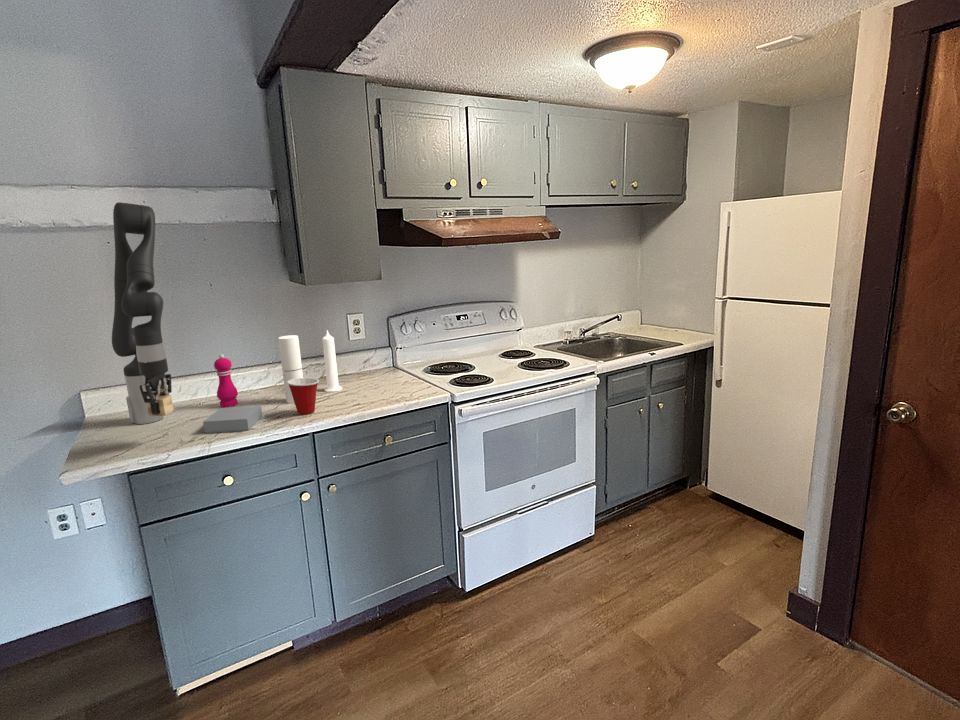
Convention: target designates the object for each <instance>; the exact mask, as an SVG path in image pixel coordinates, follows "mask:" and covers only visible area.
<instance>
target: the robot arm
mask: <svg viewBox="0 0 960 720" xmlns="http://www.w3.org/2000/svg"><path fill="white" fill-rule="evenodd" d="M112 210H113V212H112V213H113V214H112V219H113V223H112V224H113V234H114V235H113V237H114V252H115V253H114V275H113V276H114V277H113V278H114V279H113V280H114V283H113V285H114V286H113V287H114V311H113V312H114V313H113V321H112V330H111V346H112V349H113V351H114V352H115V354H116V355H117V356H118V357H122V358H125V357H129V356H130V357H131V356H134V358H133V359H132V360H131V362H129V363H127V365H125V366H124V367H123V375H124V379H125V384H126V390H127V396H126V397H125V400H126V404H127V406H126V407H127V411H128V414H129V420H130V424H136V425H145V424H151V423H155V422H158V421H160V420H162V419H164V418H165V416H149V415H148V409H147V403H150V406H151V412H152V414H153V415H155V414H160V408H159V402H158V396H162V395H170V394H171V393H172V390H173V389H172V374H170V373H167V372H169V365H168V360H167V359H168V358H167V354H166V349H165V346H164V341H163V336H162V326H161V324H162V315H163V310H164V299H163V297H162V295H161V294H159V293H158V292H156V291H150V290H152V289H153V288H154V287H155V283H156V281H155V271H154V254H155V252H154V251H155V242H156V215H155V212H154V209H153V208H152V207H151V206H149V205H143V204H136V203H135V204H134V203H128V202H116V203H115V204H114V207H113V209H112ZM127 234H133V235H141V236H143V237H142V240H141V242H140V244H139V245H138V246H137V247H136V248H135V249H134V250H133V249H132V248H131V246H130V244H129V242H128V240H127ZM138 317H151V319H150V320H149V321H147V322H145V323H141V324H137V325H135V326H134V327H132V326H133V321H134V318H138ZM166 373H167V374H166ZM154 396H155V399H154Z"/></svg>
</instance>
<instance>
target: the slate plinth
mask: <svg viewBox="0 0 960 720" xmlns="http://www.w3.org/2000/svg"><path fill="white" fill-rule="evenodd" d="M262 418H263V411H262V405H253V406H252V405H251V406H236V407H235V406H232V407H220V408H219V409H218V410H216V411H215V412H213V413H212V414H210V416H208V417H207V418H206V419H204V420H202V421H203V422H202V423H203V429H204V433H205V434H213V433H215V434H216V433H229V432H230V433H231V432H232V433H233V432H247V431H250V430H251V429H252V428H253V427H254V426H255V425H256V424H257V423H258V422H259V421H260V420H261V419H262Z"/></svg>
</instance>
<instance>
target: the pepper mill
mask: <svg viewBox="0 0 960 720" xmlns="http://www.w3.org/2000/svg"><path fill="white" fill-rule="evenodd" d="M218 357H219V358H217V359H216V360H215V361H214V362H213V363H214V364H213V367H214V369H215V370H216V375H217V377H218V381H219V382H218V386H217V387H218V388H217V391H216V397H217V398H218V400H220V401H219V407H220V408H233V407H235V406H237V405H238V404H239V402H238V399H237V397H238V394H239V393H238V389H237V387H236V386H235V384H234V383H233V381H232V370H231V368H232V366H233V363H232V361H231V360H230V359H229V358H227V357H225V355H224V354H223V353H221V354H219V355H218Z"/></svg>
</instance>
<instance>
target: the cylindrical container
mask: <svg viewBox="0 0 960 720" xmlns="http://www.w3.org/2000/svg"><path fill="white" fill-rule="evenodd" d="M277 338H278V339H277V340H278V347H279V354H280V355H279V356H280V362H281V370H282V377H283V385H284V392H285V401H286V403H288V404H295V403H294V400H293V396H292V393H291V390H290V387H289V384H288V383H287V381H289V380H292V379H297V378H304V372H303V368H302V367H303V365H302V356H301V347H300V340H299V336H298V334H297V335H296V334H295V335H293V334H292V335H289V334H288V335H282V336H279V337H277Z"/></svg>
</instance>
